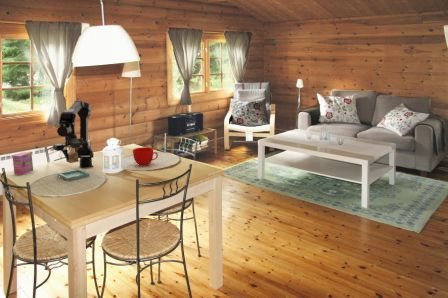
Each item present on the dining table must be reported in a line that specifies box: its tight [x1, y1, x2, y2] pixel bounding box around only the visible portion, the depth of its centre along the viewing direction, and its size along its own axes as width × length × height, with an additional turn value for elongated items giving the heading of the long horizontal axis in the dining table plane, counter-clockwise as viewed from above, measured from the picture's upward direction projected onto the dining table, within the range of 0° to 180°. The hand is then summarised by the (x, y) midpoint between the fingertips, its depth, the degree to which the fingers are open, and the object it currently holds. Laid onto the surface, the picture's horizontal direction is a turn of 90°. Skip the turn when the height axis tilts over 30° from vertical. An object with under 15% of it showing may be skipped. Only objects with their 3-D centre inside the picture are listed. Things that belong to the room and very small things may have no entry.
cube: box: [65, 151, 80, 164], centre depth 244 cm, size 5×5×5 cm
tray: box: [57, 168, 90, 182], centre depth 246 cm, size 13×13×2 cm
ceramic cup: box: [132, 146, 159, 166], centre depth 270 cm, size 13×17×10 cm
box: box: [12, 151, 34, 176], centre depth 254 cm, size 10×6×12 cm, turn 168°
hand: (72, 159), depth 245 cm, fingers closed on cube, 5 cm apart
